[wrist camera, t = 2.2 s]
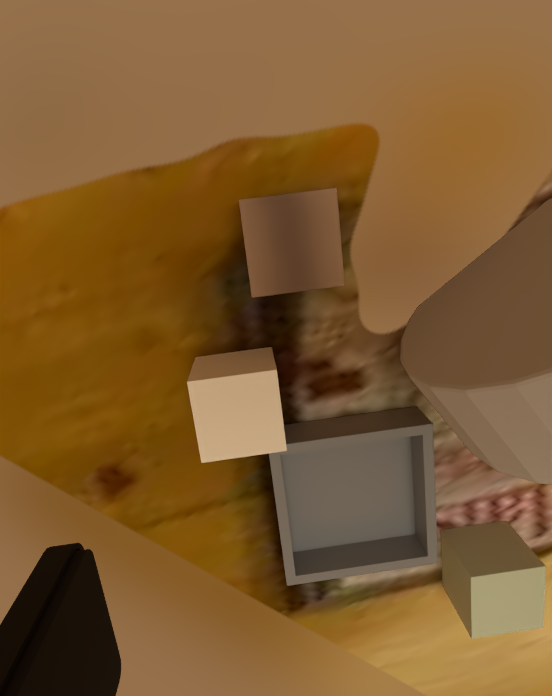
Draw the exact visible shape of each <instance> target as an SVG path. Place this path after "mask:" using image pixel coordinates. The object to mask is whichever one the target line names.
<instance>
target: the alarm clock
mask: <svg viewBox="0 0 552 696" xmlns="http://www.w3.org/2000/svg"><path fill="white" fill-rule="evenodd" d="M401 363H402V365H403V367H404V369H405V370H406V372H407V374H408V376H409V377H410V379H411V380H412V381H413V383H414V384H415V385H416V386H417V387H418V389H419V390H420V391H421V392H422V393H423V395H424V396H425V397H426V398H427V400H428V401H429V402H430V403H431V404H432V406H433V407H434V408H435V409H436V410H437V412H438V413H439V414H440V415H441V417H442V418H443V419H444V420H445V421H446V423H447V424H448V425H449V426H450V427H451V429H452V430H453V431H454V432H455V434H456V435H457V436H458V437H459V438H460V440H461V441H462V442H463V443H464V444H465V446H466V447H467V448H468V449H469V451H470V452H471V453H472V454H473V455H475V456H476V457H478V458H479V459H481V460H482V461H483V462H485V463H486V464H488V465H489V466H491V467H492V468H494V469H495V470H497V471H498V472H502V473H505V474H508V475H512V476H515V477H518V478H522V479H525V480H528V481H532V482H535V483H539V484H552V198H551V199H549V200H547V201H546V202H545V203H543V204H542V205H541V206H540V207H539V208H537V209H536V210H535V211H534V212H532V213H531V214H530V215H529V216H528V217H526V218H525V219H524V220H523V221H521V222H520V223H519V224H518V225H517V226H515V227H514V228H513V229H512V230H511V231H509V232H508V233H507V234H506V235H504V236H503V237H502V238H501V239H500V240H498V241H497V242H496V243H495V244H494V245H492V246H491V247H490V248H489V249H487V250H486V251H485V252H484V253H483V254H481V255H480V256H479V257H478V258H476V259H475V260H474V261H473V262H472V263H470V264H469V265H468V266H467V267H465V268H464V269H463V270H462V271H461V272H459V273H458V274H457V275H456V276H455V277H453V278H452V279H451V280H450V281H448V282H447V283H446V284H445V285H444V286H442V287H441V288H440V289H439V290H437V291H436V292H435V293H434V294H433V295H432V296H430V297H429V298H428V299H427V300H425V301H424V302H423V303H422V304H420V305H419V306H418V307H417V309H416V310H415V312H414V313H413V315H412V316H411V318H410V319H409V321H408V324H407V326H406V329H405V331H404V334H403V337H402V339H401Z"/></svg>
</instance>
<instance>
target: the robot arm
mask: <svg viewBox="0 0 552 696" xmlns="http://www.w3.org/2000/svg"><path fill="white" fill-rule="evenodd" d="M120 675H121V659H120V655H119V650H118V646H117V643H116V639H115V635H114V631H113V627H112V623H111V620H110V616H109V612H108V608H107V604H106V601H105V597H104V593H103V589H102V585H101V581H100V578H99V574H98V570H97V566H96V562H95V559H94V555H93V552H92V551H91V550H90V549H87V550H84V548H83V546H82V545H81V544H80V543H74V544H67V545H60V546H53V547H49V548H47V549H46V551H45V552H44V553H43V555H42V556H41V558H40V560H39V561H38V563H37V565H36V566H35V568H34V570H33V571H32V573H31V575H30V576H29V578H28V580H27V581H26V583H25V585H24V586H23V588H22V590H21V591H20V593H19V595H18V597H17V598H16V600H15V601H14V603H13V605H12V606H11V608H10V610H9V611H8V613H7V615H6V616H5V618H4V620H3V621H2V623H1V625H0V696H116V692H117V688H118V684H119V680H120Z"/></svg>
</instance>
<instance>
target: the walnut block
mask: <svg viewBox="0 0 552 696" xmlns="http://www.w3.org/2000/svg"><path fill="white" fill-rule="evenodd" d="M239 206H240V214H241V221H242V228H243V236H244V243H245V250H246V258H247V265H248V273H249V280H250V287H251V295H252V298H253V297H261V296H269V295H276V294H284V293H292V292H299V291H307V290H315V289H322V288H330V287H337V286H345V283H344V271H343V259H342V247H341V235H340V223H339V211H338V199H337V188H331V189H323V190H315V191H307V192H299V193H291V194H282V195H274V196H266V197H258V198H250V199H242V200H239Z"/></svg>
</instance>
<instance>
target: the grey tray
mask: <svg viewBox="0 0 552 696" xmlns="http://www.w3.org/2000/svg"><path fill="white" fill-rule="evenodd" d="M284 431H285V439H286V447H287V451H282V452H275V453H269V458H270V465H271V472H272V479H273V487H274V494H275V501H276V509H277V516H278V523H279V530H280V538H281V545H282V552H283V559H284V567H285V574H286V581H287V586H288V585H295V584H302V583H308V582H315V581H322V580H328V579H335V578H342V577H348V576H355V575H362V574H368V573H375V572H381V571H388V570H395V569H401V568H408V567H415V566H421V565H428V564H435V563H438V556H437V528H436V500H435V473H434V445H433V423H432V422H431V421H430V420H429V419H428V418H427V417H426V416H425V415H424V414H423V413H422V412H421V411H420V410H419V408H418V407H417V406H416V407H409V408H402V409H394V410H387V411H380V412H373V413H366V414H359V415H351V416H344V417H337V418H330V419H323V420H315V421H308V422H301V423H294V424H287V425H284Z"/></svg>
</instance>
